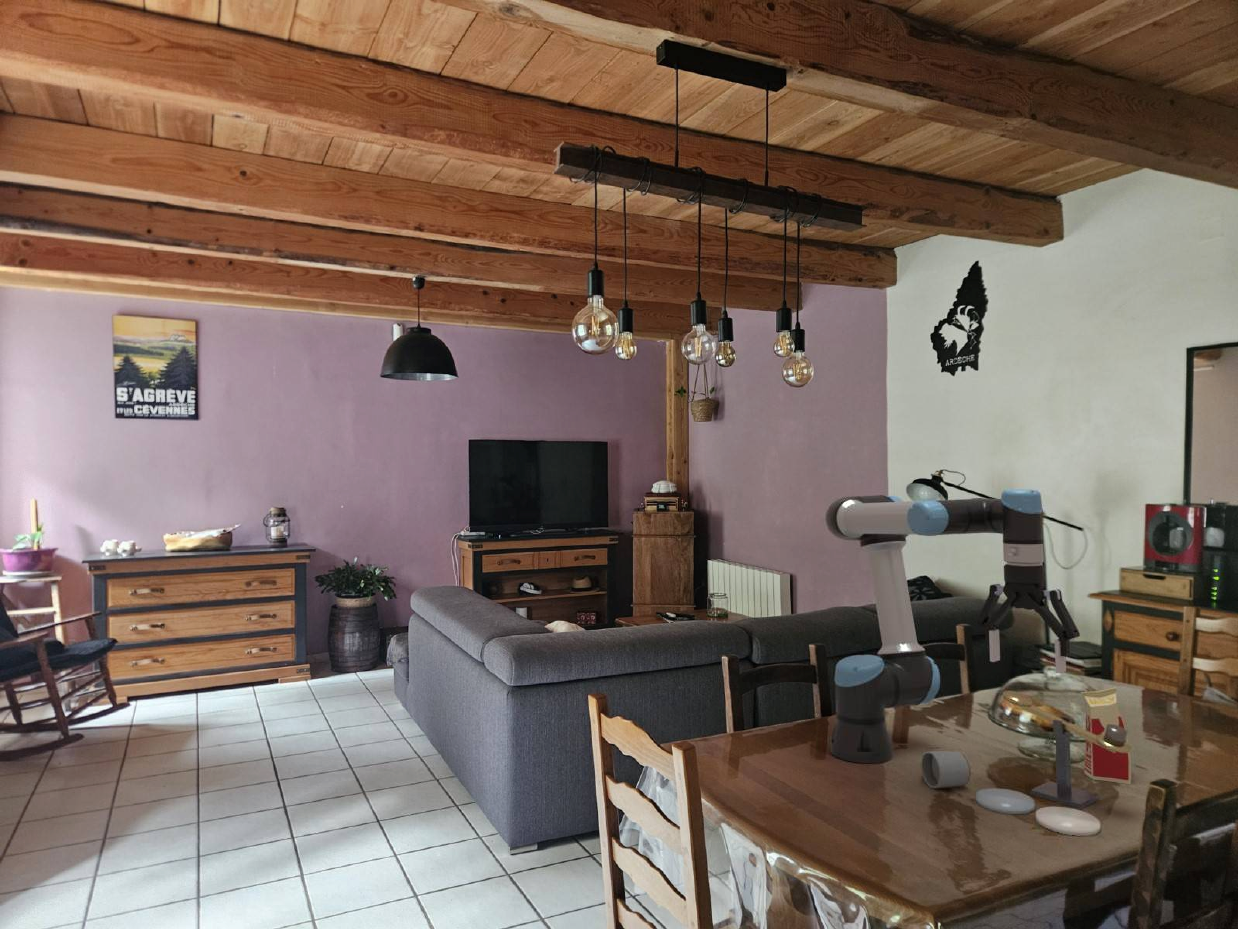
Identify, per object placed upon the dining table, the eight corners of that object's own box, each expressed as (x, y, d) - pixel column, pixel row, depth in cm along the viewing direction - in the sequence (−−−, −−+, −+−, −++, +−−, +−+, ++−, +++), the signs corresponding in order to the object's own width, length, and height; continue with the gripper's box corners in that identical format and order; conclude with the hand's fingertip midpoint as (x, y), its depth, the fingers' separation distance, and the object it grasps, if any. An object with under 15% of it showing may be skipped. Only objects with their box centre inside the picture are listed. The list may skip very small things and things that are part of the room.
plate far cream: (1025, 822, 157) (1025, 816, 158) (1052, 807, 164) (1052, 802, 164) (1084, 841, 149) (1084, 835, 149) (1110, 825, 155) (1110, 819, 155)
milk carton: (1126, 771, 183) (1123, 683, 184) (1133, 785, 175) (1129, 693, 175) (1081, 765, 187) (1078, 680, 188) (1085, 779, 179) (1082, 689, 179)
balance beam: (996, 700, 178) (1000, 681, 177) (1009, 695, 182) (1014, 676, 181) (1120, 760, 158) (1126, 739, 157) (1133, 753, 161) (1139, 733, 160)
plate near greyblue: (965, 802, 168) (965, 797, 168) (993, 789, 174) (993, 784, 174) (1017, 819, 159) (1017, 814, 159) (1044, 805, 165) (1044, 800, 165)
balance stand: (1031, 794, 171) (1028, 717, 171) (1049, 785, 176) (1046, 710, 176) (1080, 809, 163) (1077, 728, 163) (1098, 799, 168) (1095, 720, 168)
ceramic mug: (974, 790, 174) (972, 754, 174) (940, 794, 172) (939, 757, 173) (944, 774, 184) (943, 740, 185) (912, 777, 183) (911, 743, 183)
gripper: (957, 561, 174) (960, 659, 173) (1078, 569, 154) (1082, 680, 153) (976, 558, 178) (979, 654, 178) (1096, 566, 158) (1099, 674, 158)
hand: (1026, 666), depth 166 cm, fingers open, 13 cm apart
